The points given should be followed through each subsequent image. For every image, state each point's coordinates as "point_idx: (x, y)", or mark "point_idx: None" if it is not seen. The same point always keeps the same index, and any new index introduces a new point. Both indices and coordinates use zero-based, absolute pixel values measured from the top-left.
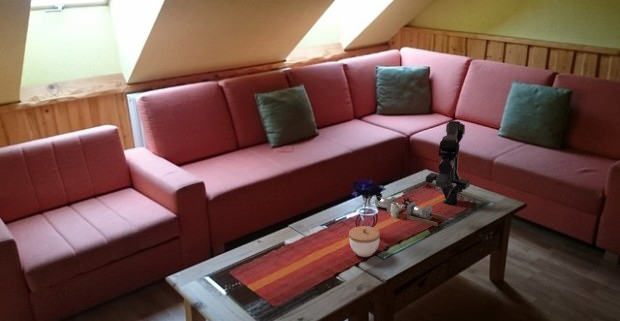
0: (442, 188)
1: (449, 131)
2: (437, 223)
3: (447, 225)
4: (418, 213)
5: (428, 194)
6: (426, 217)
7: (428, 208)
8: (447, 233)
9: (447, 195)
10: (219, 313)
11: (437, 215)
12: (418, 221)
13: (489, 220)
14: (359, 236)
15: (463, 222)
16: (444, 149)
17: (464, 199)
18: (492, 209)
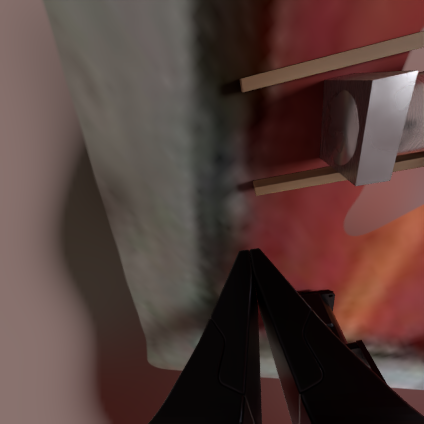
0: (365, 398)
1: None
2: (241, 85)
3: (203, 136)
4: (422, 73)
5: (410, 309)
6: (339, 84)
7: (370, 135)
8: (135, 39)
9: (231, 283)
10: None
11: (295, 179)
12: (376, 43)
13: (126, 275)
14: None
15: (173, 211)
16: None
17: None
18: (176, 325)
